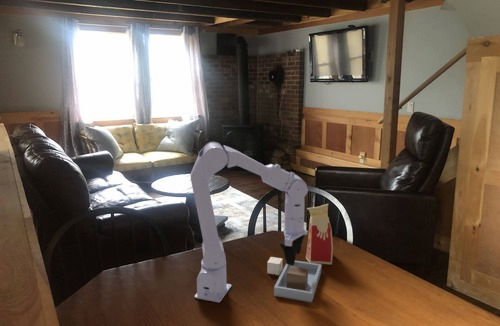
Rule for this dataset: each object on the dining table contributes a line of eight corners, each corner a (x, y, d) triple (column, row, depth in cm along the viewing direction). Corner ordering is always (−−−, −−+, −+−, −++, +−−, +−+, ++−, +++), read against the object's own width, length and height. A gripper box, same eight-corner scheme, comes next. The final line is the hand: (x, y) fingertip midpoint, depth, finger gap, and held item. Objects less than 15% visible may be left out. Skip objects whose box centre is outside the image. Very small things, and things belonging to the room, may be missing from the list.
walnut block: (304, 291, 114) (305, 275, 113) (286, 288, 116) (286, 272, 115) (307, 283, 118) (308, 268, 117) (290, 280, 120) (290, 265, 119)
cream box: (279, 275, 124) (279, 264, 123) (267, 273, 125) (267, 262, 124) (282, 269, 128) (282, 258, 127) (270, 267, 129) (270, 256, 128)
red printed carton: (330, 252, 140) (332, 199, 135) (333, 264, 131) (335, 208, 126) (304, 251, 140) (306, 199, 136) (305, 263, 131) (307, 207, 127)
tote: (311, 302, 109) (312, 293, 108) (274, 295, 112) (274, 287, 112) (321, 272, 125) (321, 264, 125) (288, 267, 129) (288, 259, 128)
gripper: (302, 226, 106) (301, 271, 109) (312, 209, 119) (310, 250, 122) (277, 223, 108) (277, 267, 111) (289, 207, 122) (289, 247, 125)
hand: (293, 258), depth 117 cm, fingers open, 7 cm apart
